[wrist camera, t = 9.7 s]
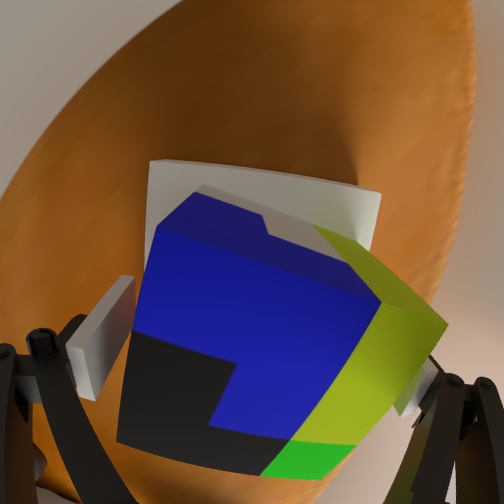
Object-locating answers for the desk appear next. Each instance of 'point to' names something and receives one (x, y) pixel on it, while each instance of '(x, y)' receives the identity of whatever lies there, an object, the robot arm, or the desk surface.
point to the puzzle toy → (265, 341)
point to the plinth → (264, 196)
